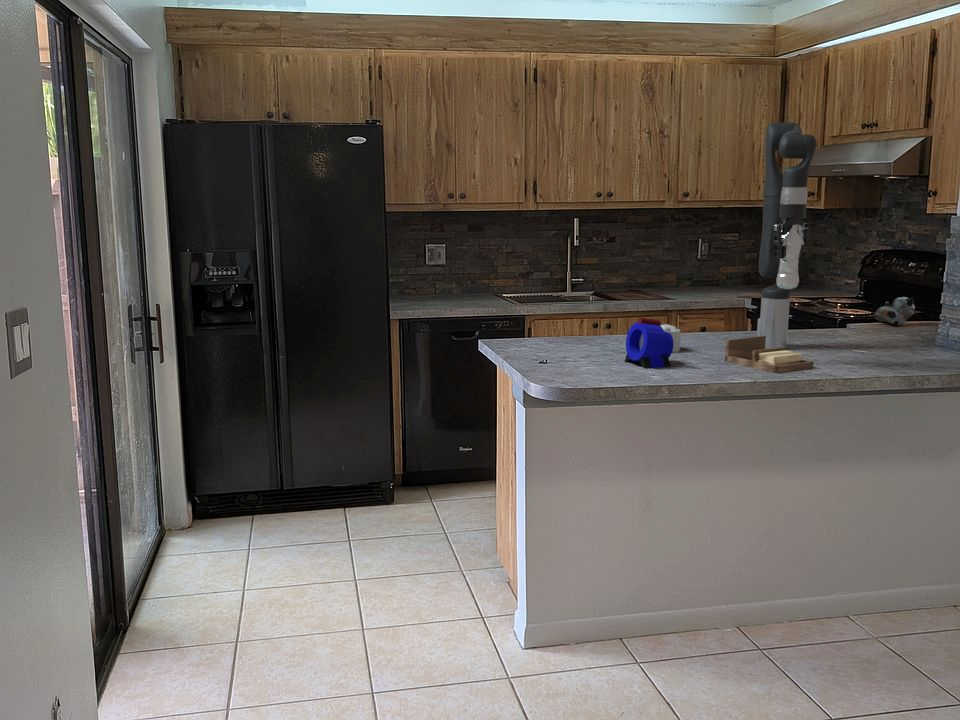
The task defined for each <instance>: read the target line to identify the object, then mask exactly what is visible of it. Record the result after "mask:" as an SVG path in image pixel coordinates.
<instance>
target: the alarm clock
mask: <svg viewBox="0 0 960 720" xmlns="http://www.w3.org/2000/svg"><path fill="white" fill-rule="evenodd" d="M661 323H662V321H661V320H660V319H655V318H648V317H641V316H640V317H638V320H637V321H636V322H635V323H633V324H632V325H631V326H630V327H629V329H628V332H627V334H626V335H627V336H626V338H625V350H626V356H625V359H624V363H626V362H634V361H635V362H638V363H639V364H641V366H642V367H643V369H645V370H647V369H657V368H659V369H661V368H669V367H672V366H671V364H670V363H671V362H670V359H669V358H670V357H671V356H672V354H673V352H672V351H673V345H674V343H673V337H672V335H671V334H670V333H669V332H664V330H663V328H662V327H661V325H662V324H661Z"/></svg>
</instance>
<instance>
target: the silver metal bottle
mask: <svg viewBox="0 0 960 720" xmlns="http://www.w3.org/2000/svg"><path fill="white" fill-rule="evenodd" d="M791 225H795V229H794V231H793V232H792V234H791V237H790V239H788V240H787V243H786V245H785V246H786V252H785V258H784V259H781V258H780V266H779V272H778V275H777V278H775V279H776V282H777V286H778V287H780V288H783V289H791V290H793V289H796V288H797V287H798V286H799V283H800V277H799V276H800V275H799V258H800V257H799V253H800V249H801V244H802V239H801V237H800V235H799V234H798V232H797V230H798V224H791ZM783 235H784V234H783ZM784 236H786V235H784ZM783 240H784V239H782V242H783ZM776 282H775V283H776Z"/></svg>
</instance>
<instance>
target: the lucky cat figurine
mask: <svg viewBox="0 0 960 720" xmlns="http://www.w3.org/2000/svg"><path fill="white" fill-rule="evenodd" d="M914 302H915V301H914V297H905V296H901V297H896V298H895V299H894V300H893V301H892V303H891V304H890V302H889V301H885V302H884V306H880V307H879V308H878V309H877V310H876V311H875V312H874V313H873V316H874V318H875V320H877V321H879V322H880V323H888V324H890V325H894V326H896V327H905V326H906V325H907V321H908V319H910V318H911V317H912V316H913V315H914V311H915V308H916V306H915V304H914Z"/></svg>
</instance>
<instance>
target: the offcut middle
mask: <svg viewBox="0 0 960 720" xmlns="http://www.w3.org/2000/svg"><path fill="white" fill-rule="evenodd" d="M758 362H761V363H765V364H770V365H774V366H780V365H788V364H795V363H800V361H791V362H782V363H770V362H766V361H761V360H758Z"/></svg>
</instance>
